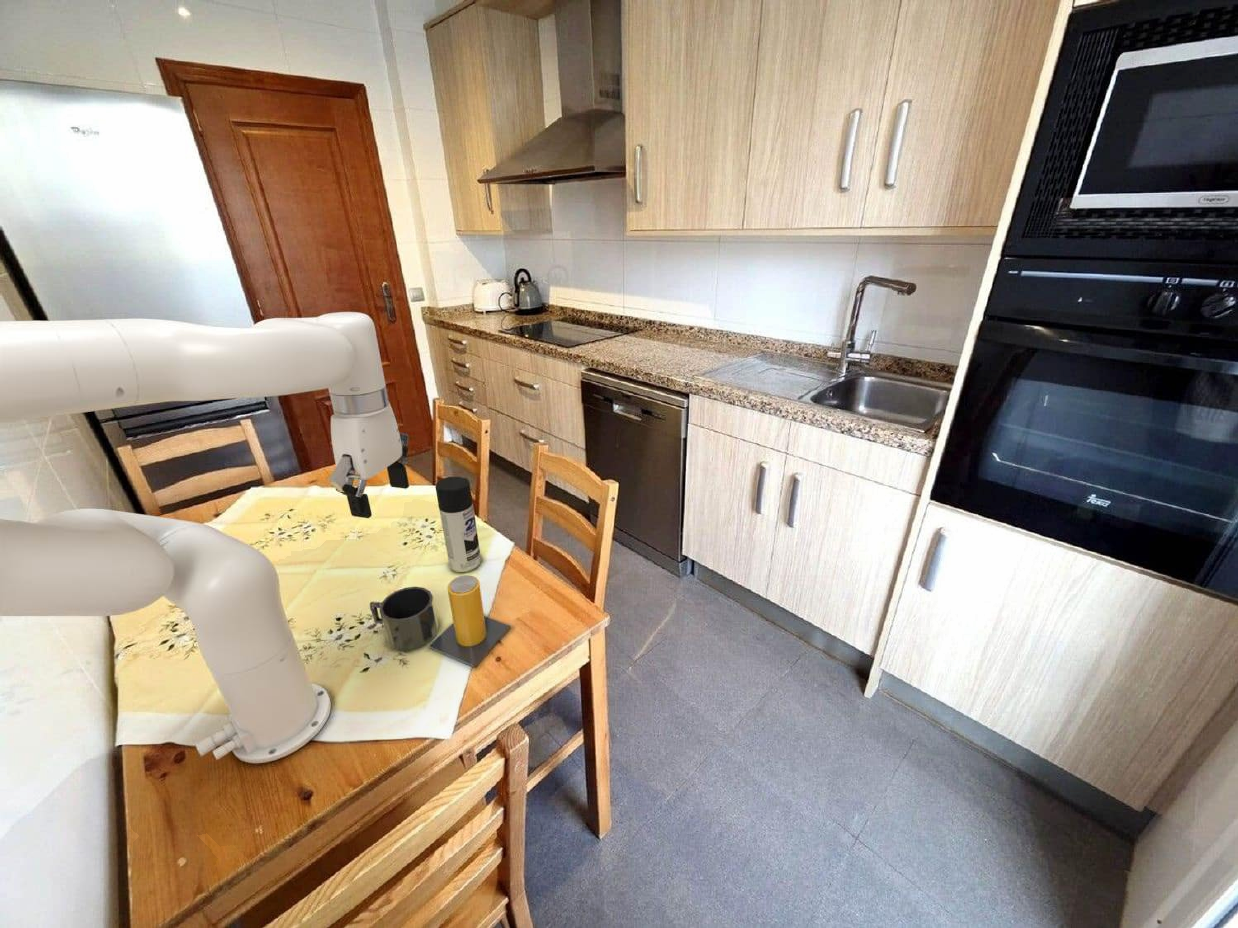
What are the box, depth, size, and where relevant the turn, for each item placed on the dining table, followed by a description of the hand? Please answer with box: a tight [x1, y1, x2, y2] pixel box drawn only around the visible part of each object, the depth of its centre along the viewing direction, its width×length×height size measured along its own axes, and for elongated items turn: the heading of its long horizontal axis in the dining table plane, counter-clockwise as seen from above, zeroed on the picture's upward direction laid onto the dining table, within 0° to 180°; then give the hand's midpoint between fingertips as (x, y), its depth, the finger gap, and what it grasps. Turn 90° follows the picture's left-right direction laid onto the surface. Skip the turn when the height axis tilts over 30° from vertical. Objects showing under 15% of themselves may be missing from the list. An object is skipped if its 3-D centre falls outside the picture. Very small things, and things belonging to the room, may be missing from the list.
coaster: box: [428, 615, 511, 669], centre depth 90 cm, size 10×10×1 cm
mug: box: [369, 586, 439, 652], centre depth 89 cm, size 12×9×7 cm
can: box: [446, 574, 486, 646], centre depth 87 cm, size 5×5×12 cm
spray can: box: [435, 476, 482, 573], centre depth 105 cm, size 7×7×20 cm
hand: (382, 500), depth 81 cm, fingers open, 9 cm apart
